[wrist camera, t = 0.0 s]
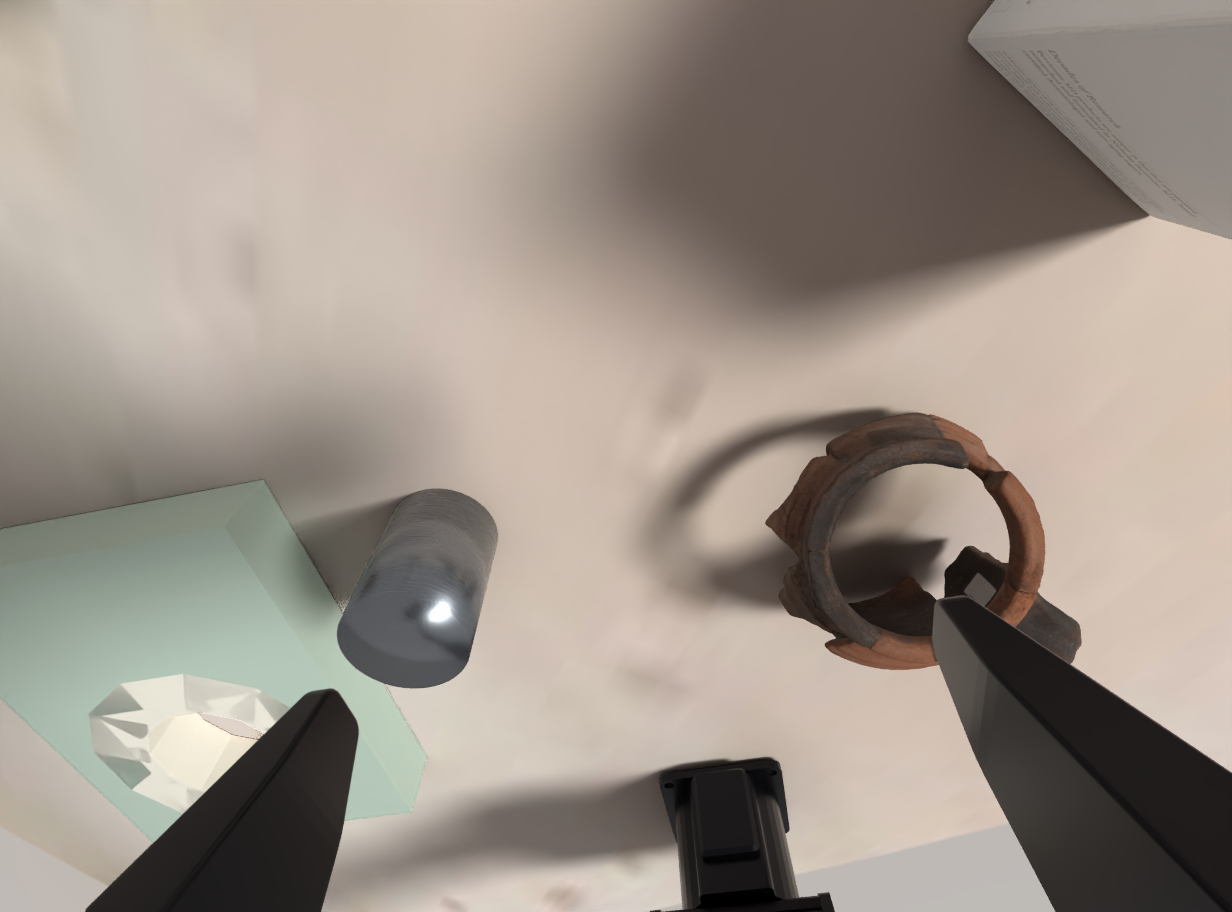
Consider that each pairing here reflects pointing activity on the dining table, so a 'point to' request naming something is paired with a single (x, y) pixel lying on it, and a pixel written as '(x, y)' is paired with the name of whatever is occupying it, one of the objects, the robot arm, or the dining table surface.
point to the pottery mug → (904, 615)
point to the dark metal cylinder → (421, 591)
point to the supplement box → (1130, 92)
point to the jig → (182, 649)
